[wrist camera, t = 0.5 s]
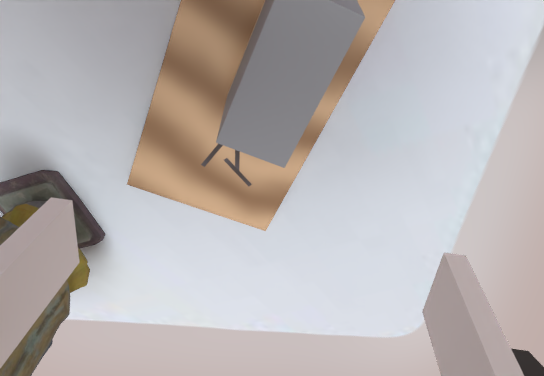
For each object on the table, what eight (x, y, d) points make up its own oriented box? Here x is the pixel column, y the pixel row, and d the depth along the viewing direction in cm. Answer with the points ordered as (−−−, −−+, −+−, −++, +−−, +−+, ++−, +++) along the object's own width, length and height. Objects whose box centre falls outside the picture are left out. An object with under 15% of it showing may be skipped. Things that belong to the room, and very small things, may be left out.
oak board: (210, -95, 30) (208, -93, 29) (393, -5, 33) (395, -2, 32) (130, 178, 43) (127, 184, 42) (265, 224, 46) (265, 231, 45)
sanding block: (283, -47, 31) (283, -22, 24) (348, -16, 32) (365, 17, 25) (228, 92, 37) (215, 142, 30) (284, 114, 38) (284, 168, 31)
